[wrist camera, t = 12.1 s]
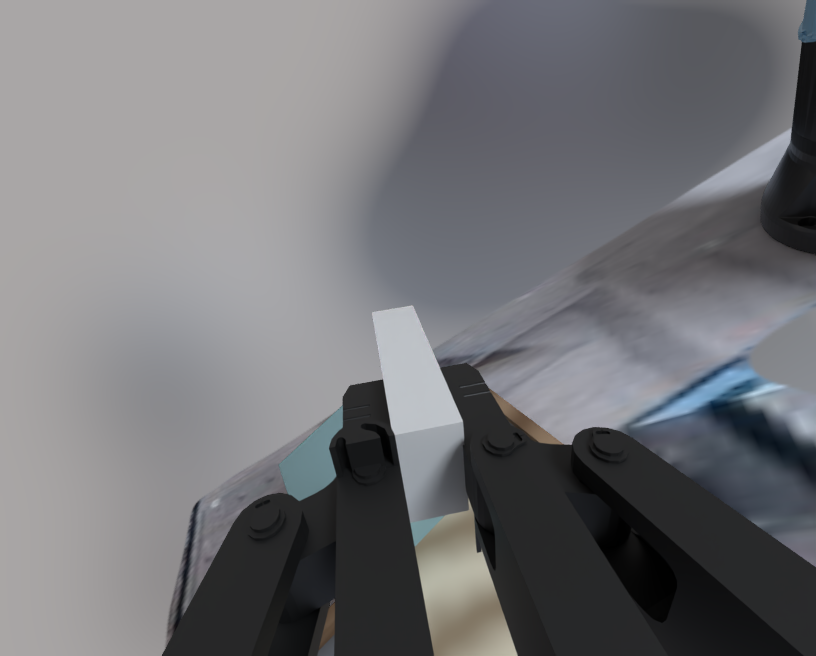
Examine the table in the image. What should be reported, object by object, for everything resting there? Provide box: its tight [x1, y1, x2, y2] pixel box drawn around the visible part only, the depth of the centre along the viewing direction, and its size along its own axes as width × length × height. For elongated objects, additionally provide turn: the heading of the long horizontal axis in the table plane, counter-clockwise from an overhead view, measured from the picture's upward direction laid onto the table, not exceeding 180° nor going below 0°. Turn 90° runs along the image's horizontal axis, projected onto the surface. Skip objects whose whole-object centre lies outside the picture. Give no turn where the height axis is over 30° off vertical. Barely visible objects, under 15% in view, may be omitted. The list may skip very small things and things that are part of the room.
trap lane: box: [317, 389, 564, 656], centre depth 32 cm, size 29×31×4 cm
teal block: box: [279, 405, 444, 546], centre depth 36 cm, size 9×9×11 cm
